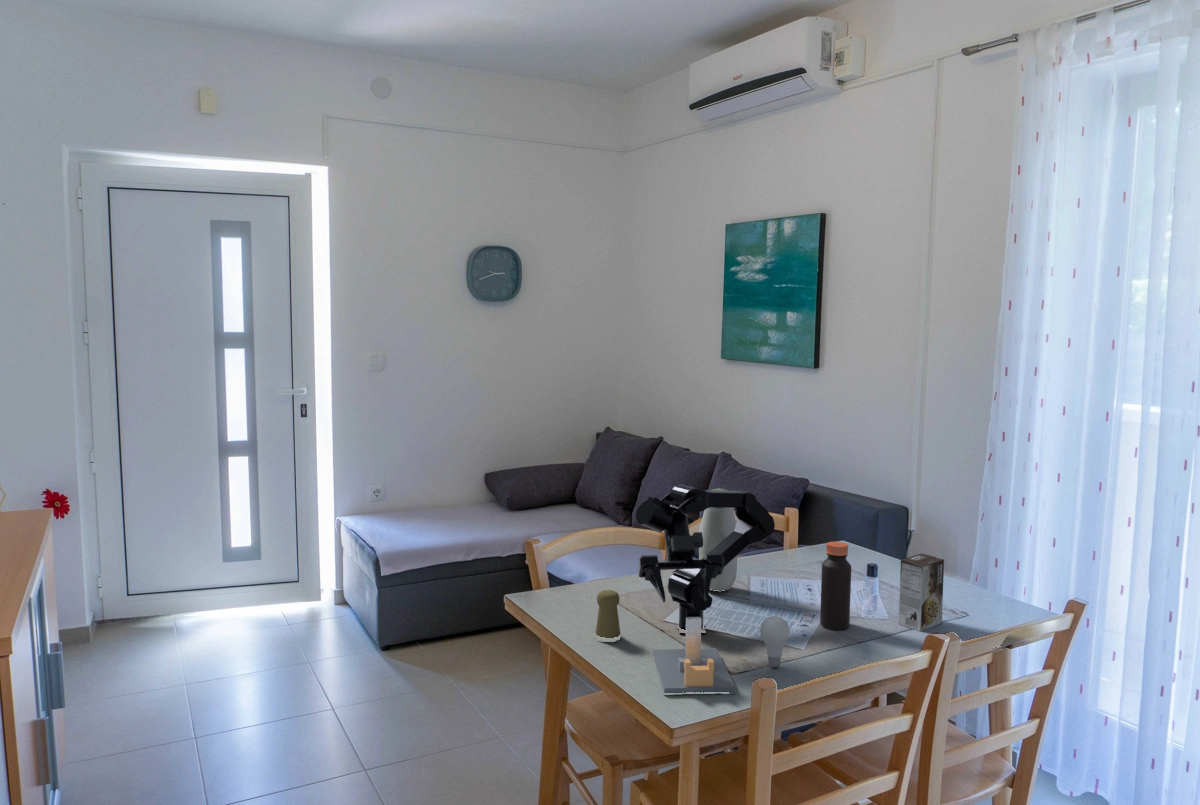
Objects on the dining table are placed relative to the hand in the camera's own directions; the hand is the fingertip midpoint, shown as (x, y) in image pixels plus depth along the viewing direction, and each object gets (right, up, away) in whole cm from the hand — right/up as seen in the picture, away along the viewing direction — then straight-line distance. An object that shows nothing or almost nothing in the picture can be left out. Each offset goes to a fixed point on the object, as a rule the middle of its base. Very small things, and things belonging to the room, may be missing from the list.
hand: (685, 600), depth 179 cm
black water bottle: (+38, -11, +20) cm, 44 cm away
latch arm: (+1, -6, -10) cm, 12 cm away
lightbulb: (+18, -13, -4) cm, 23 cm away
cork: (-17, -12, +12) cm, 24 cm away
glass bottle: (+13, -8, +45) cm, 48 cm away
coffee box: (+59, -11, +21) cm, 64 cm away
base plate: (0, -13, -8) cm, 15 cm away
